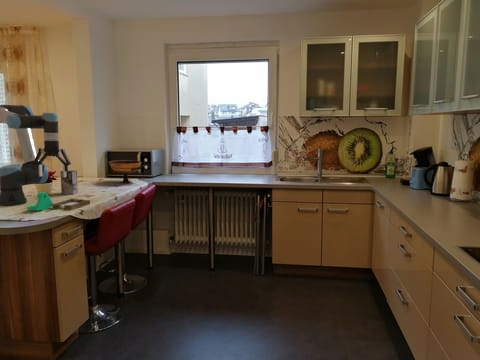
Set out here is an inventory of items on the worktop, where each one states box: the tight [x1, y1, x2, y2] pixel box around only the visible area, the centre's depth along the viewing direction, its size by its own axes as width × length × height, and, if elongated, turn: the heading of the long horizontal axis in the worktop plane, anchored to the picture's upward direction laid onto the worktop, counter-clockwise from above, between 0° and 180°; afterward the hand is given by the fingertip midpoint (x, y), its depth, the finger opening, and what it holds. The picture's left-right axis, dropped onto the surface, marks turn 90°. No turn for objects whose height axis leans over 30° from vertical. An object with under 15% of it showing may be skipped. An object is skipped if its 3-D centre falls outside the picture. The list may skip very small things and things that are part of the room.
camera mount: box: [26, 191, 54, 212], centre depth 215 cm, size 12×8×10 cm, turn 165°
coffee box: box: [59, 169, 79, 195], centre depth 261 cm, size 9×6×16 cm
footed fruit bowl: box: [106, 159, 145, 185], centre depth 310 cm, size 36×26×18 cm
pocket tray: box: [52, 198, 91, 211], centre depth 225 cm, size 13×17×2 cm
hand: (52, 176), depth 217 cm, fingers open, 13 cm apart
